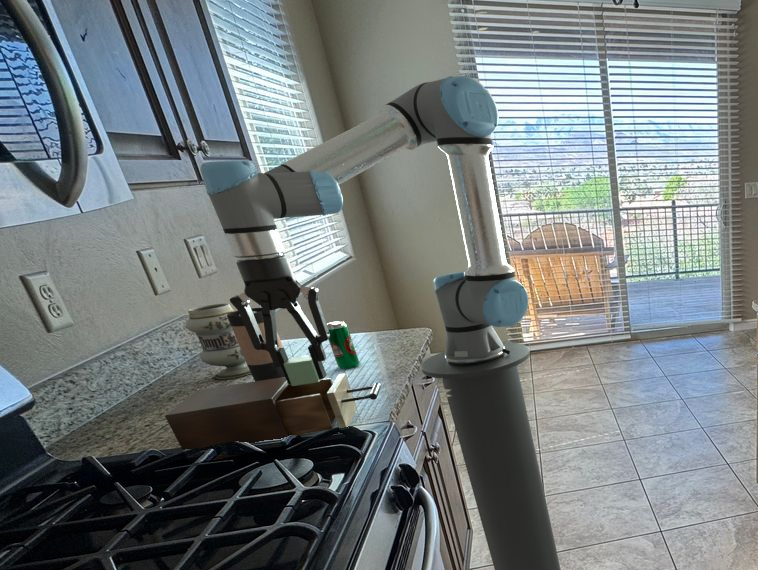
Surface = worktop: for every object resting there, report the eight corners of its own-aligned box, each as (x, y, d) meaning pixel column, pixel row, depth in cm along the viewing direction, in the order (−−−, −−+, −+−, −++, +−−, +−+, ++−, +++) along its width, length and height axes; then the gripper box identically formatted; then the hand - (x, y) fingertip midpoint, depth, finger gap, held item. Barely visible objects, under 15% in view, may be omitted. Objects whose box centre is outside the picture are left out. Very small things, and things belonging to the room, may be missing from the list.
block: (323, 375, 113) (316, 354, 111) (319, 382, 109) (311, 360, 107) (297, 379, 112) (289, 357, 110) (291, 386, 108) (283, 364, 106)
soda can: (335, 368, 151) (319, 324, 146) (355, 362, 155) (340, 319, 150) (344, 371, 149) (328, 326, 144) (363, 365, 152) (349, 321, 147)
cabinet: (308, 419, 119) (290, 376, 115) (291, 445, 107) (271, 398, 103) (217, 435, 114) (195, 390, 110) (189, 464, 102) (164, 415, 98)
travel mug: (282, 388, 139) (249, 307, 130) (308, 388, 137) (276, 307, 128) (253, 399, 132) (216, 315, 123) (280, 401, 130) (244, 315, 122)
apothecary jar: (230, 367, 157) (202, 303, 149) (275, 364, 158) (249, 299, 150) (198, 382, 146) (165, 313, 138) (246, 378, 147) (217, 310, 139)
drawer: (389, 402, 123) (378, 368, 120) (382, 423, 113) (370, 386, 109) (277, 421, 116) (262, 385, 113) (259, 445, 106) (241, 407, 103)
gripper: (322, 249, 107) (361, 366, 116) (209, 259, 101) (260, 381, 111) (313, 254, 100) (355, 377, 110) (192, 264, 94) (248, 393, 104)
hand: (307, 379), depth 110 cm, fingers closed on block, 4 cm apart
